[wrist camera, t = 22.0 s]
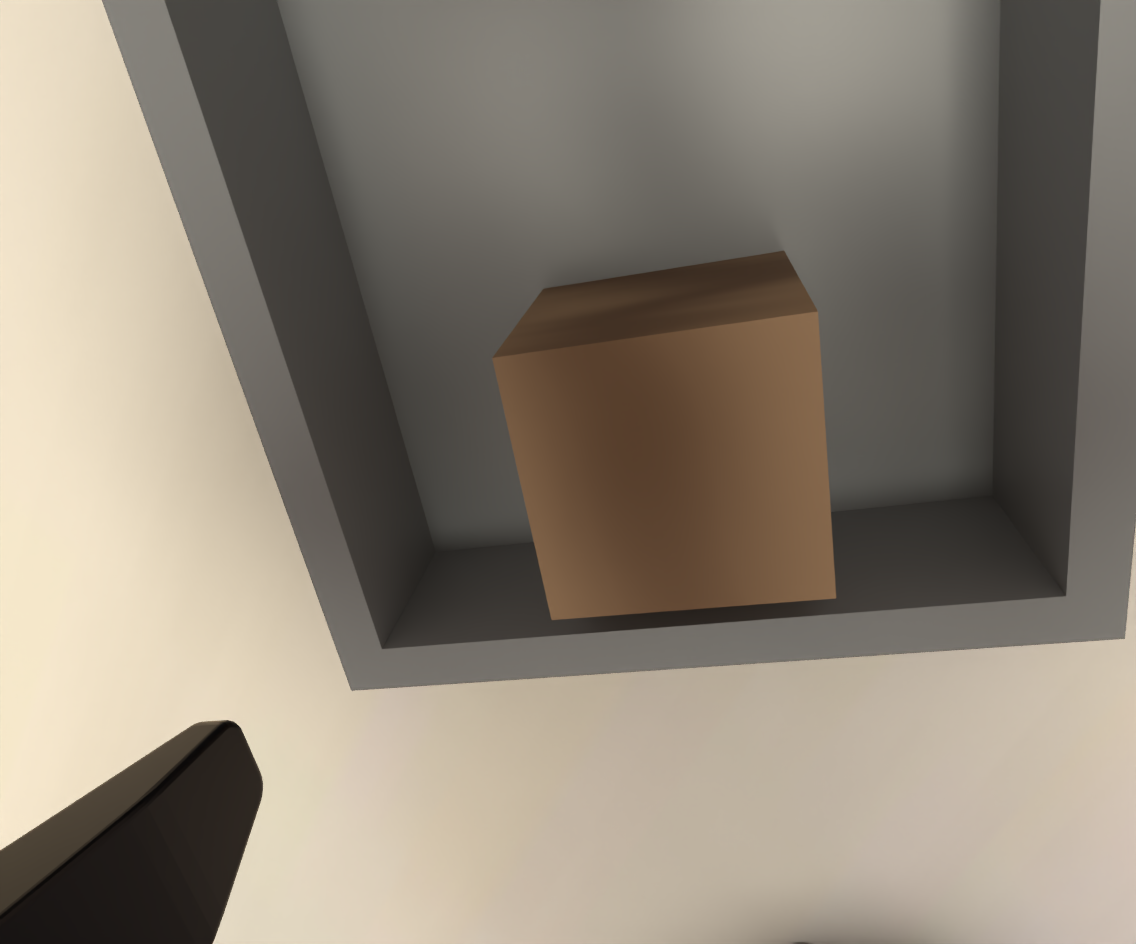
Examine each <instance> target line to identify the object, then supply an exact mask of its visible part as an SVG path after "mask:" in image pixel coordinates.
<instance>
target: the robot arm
mask: <svg viewBox="0 0 1136 944" xmlns="http://www.w3.org/2000/svg"><path fill="white" fill-rule="evenodd" d="M262 792H263V781H262V776H261V773H260V770H259V768H258V766H257V764H256V761H255V759H254V757H253V755H252V752H251V750H250V748H249V745H248V743H247V741H246V739H245V736H244V734H243V732H242V730H241V728H240V727H239V726H238V725H237V724H236V723H235V722H233V721H229V720H223V721H206V722H199V723H196V724H194V725H192V726H191V727H189V728H187V729H186V730H184V731H183V732H181V733H180V734H178V735H177V736H175V737H174V738H172V739H171V740H169V741H168V742H166V743H164V744H163V745H161V746H160V747H158V748H157V749H155V750H154V751H152V752H151V753H149V754H148V755H146V756H145V757H143V758H141V759H140V760H138V761H137V762H135V763H134V764H132V765H131V766H129V767H128V768H126V769H125V770H123V771H122V772H120V773H118V774H117V775H115V776H114V777H112V778H111V779H109V780H108V781H106V782H105V783H103V784H102V785H100V786H99V787H97V788H95V789H94V790H92V791H91V792H89V793H88V794H86V795H85V796H83V797H82V798H80V799H79V800H77V801H75V802H74V803H72V804H71V805H69V806H68V807H66V808H65V809H63V810H62V811H60V812H59V813H57V814H56V815H54V816H52V817H51V818H49V819H48V820H46V821H45V822H43V823H42V824H40V825H39V826H37V827H36V828H34V829H33V830H31V831H29V832H28V833H26V834H25V835H23V836H22V837H20V838H19V839H17V840H16V841H14V842H13V843H11V844H10V845H8V846H6V847H5V848H3V849H2V850H0V944H213V941H214V939H215V936H216V933H217V931H218V928H219V925H220V922H221V919H222V917H223V914H224V911H225V908H226V905H227V902H228V899H229V896H230V893H231V890H232V887H233V884H234V881H235V878H236V875H237V872H238V869H239V866H240V863H241V860H242V857H243V854H244V851H245V848H246V845H247V842H248V838H249V835H250V832H251V829H252V826H253V823H254V820H255V817H256V814H257V811H258V808H259V805H260V802H261V798H262Z"/></svg>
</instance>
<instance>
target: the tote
mask: <svg viewBox="0 0 1136 944" xmlns="http://www.w3.org/2000/svg"><path fill="white" fill-rule="evenodd" d="M102 2H103V5H104V7H105V10H106V13H107V16H108V18H109V21H110V24H111V27H112V29H113V32H114V35H115V38H116V41H117V43H118V46H119V49H120V52H121V54H122V57H123V60H124V63H125V65H126V68H127V71H128V74H129V76H130V79H131V82H132V85H133V88H134V90H135V93H136V96H137V99H138V101H139V104H140V107H141V110H142V112H143V115H144V118H145V121H146V123H147V126H148V129H149V132H150V135H151V137H152V140H153V143H154V146H155V148H156V151H157V154H158V157H159V159H160V162H161V165H162V168H163V171H164V173H165V176H166V179H167V182H168V184H169V187H170V190H171V193H172V195H173V198H174V201H175V204H176V206H177V209H178V212H179V215H180V218H181V220H182V223H183V226H184V229H185V231H186V234H187V237H188V240H189V242H190V245H191V248H192V251H193V254H194V256H195V259H196V262H197V265H198V267H199V270H200V273H201V276H202V278H203V281H204V284H205V287H206V289H207V292H208V295H209V298H210V301H211V303H212V306H213V309H214V312H215V314H216V317H217V320H218V323H219V325H220V328H221V331H222V334H223V337H224V339H225V342H226V345H227V348H228V350H229V353H230V356H231V359H232V361H233V364H234V367H235V370H236V372H237V375H238V378H239V381H240V384H241V386H242V389H243V392H244V395H245V397H246V400H247V403H248V406H249V408H250V411H251V414H252V417H253V419H254V422H255V425H256V428H257V431H258V433H259V436H260V439H261V442H262V444H263V447H264V450H265V453H266V455H267V458H268V461H269V464H270V467H271V469H272V472H273V475H274V478H275V480H276V483H277V486H278V489H279V491H280V494H281V497H282V500H283V502H284V505H285V508H286V511H287V514H288V516H289V519H290V522H291V525H292V527H293V530H294V533H295V536H296V538H297V541H298V544H299V547H300V550H301V552H302V555H303V558H304V561H305V563H306V566H307V569H308V572H309V574H310V577H311V580H312V583H313V585H314V588H315V591H316V594H317V597H318V599H319V602H320V605H321V608H322V610H323V613H324V616H325V619H326V621H327V624H328V627H329V630H330V633H331V635H332V638H333V641H334V644H335V646H336V649H337V652H338V655H339V657H340V660H341V663H342V666H343V668H344V671H345V674H346V677H347V680H348V682H349V685H350V688H351V691H353V690H368V689H383V688H398V687H413V686H428V685H442V684H457V683H472V682H487V681H502V680H517V679H532V678H547V677H562V676H576V675H591V674H606V673H621V672H636V671H651V670H666V669H681V668H696V667H711V666H725V665H740V664H755V663H770V662H785V661H800V660H815V659H830V658H845V657H859V656H874V655H889V654H904V653H919V652H934V651H949V650H964V649H979V648H993V647H1008V646H1023V645H1038V644H1053V643H1068V642H1083V641H1098V640H1113V639H1125V631H1126V620H1127V609H1128V598H1129V587H1130V577H1131V566H1132V555H1133V544H1134V533H1135V523H1136V0H102ZM779 251H785V253H786V255H787V257H788V258H789V260H790V262H791V264H792V266H793V267H794V269H795V271H796V273H797V275H798V276H799V278H800V280H801V282H802V284H803V285H804V287H805V289H806V291H807V293H808V294H809V296H810V298H811V300H812V302H813V303H814V305H815V307H816V309H817V311H818V319H819V335H820V351H821V366H822V382H823V398H824V413H825V429H826V445H827V460H828V476H829V491H830V507H831V523H832V538H833V554H834V570H835V585H836V598H835V599H822V600H809V601H796V602H782V603H769V604H756V605H743V606H730V607H717V608H704V609H691V610H678V611H665V612H652V613H638V614H625V615H612V616H599V617H586V618H573V619H560V620H551V615H550V611H549V607H548V602H547V598H546V593H545V589H544V584H543V580H542V576H541V571H540V567H539V562H538V558H537V554H536V549H535V545H534V540H533V536H532V532H531V527H530V523H529V518H528V514H527V510H526V505H525V501H524V496H523V492H522V487H521V483H520V479H519V474H518V470H517V465H516V461H515V457H514V452H513V448H512V443H511V439H510V435H509V430H508V426H507V421H506V417H505V412H504V408H503V404H502V399H501V395H500V390H499V386H498V382H497V377H496V373H495V368H494V364H493V360H492V357H493V356H494V355H495V353H496V352H497V351H498V349H499V348H500V347H501V345H502V344H503V343H504V341H505V340H506V338H507V337H508V336H509V334H510V333H511V332H512V330H513V329H514V328H515V326H516V325H517V324H518V322H519V321H520V320H521V318H522V317H523V315H524V314H525V313H526V311H527V310H528V309H529V307H530V306H531V305H532V303H533V302H534V301H535V299H536V298H537V297H538V295H539V294H540V292H541V291H542V290H543V289H545V288H551V287H558V286H564V285H570V284H577V283H583V282H589V281H596V280H602V279H608V278H615V277H621V276H627V275H634V274H640V273H646V272H653V271H659V270H665V269H672V268H678V267H684V266H691V265H697V264H703V263H710V262H716V261H722V260H729V259H735V258H741V257H748V256H754V255H760V254H767V253H773V252H779Z"/></svg>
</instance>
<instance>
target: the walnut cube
mask: <svg viewBox="0 0 1136 944" xmlns="http://www.w3.org/2000/svg"><path fill="white" fill-rule="evenodd" d="M492 360H493V364H494V368H495V373H496V377H497V382H498V386H499V390H500V395H501V399H502V404H503V408H504V412H505V417H506V421H507V426H508V430H509V435H510V439H511V443H512V448H513V452H514V457H515V461H516V465H517V470H518V474H519V479H520V483H521V487H522V492H523V496H524V501H525V505H526V510H527V514H528V518H529V523H530V527H531V532H532V536H533V540H534V545H535V549H536V554H537V558H538V562H539V567H540V571H541V576H542V580H543V584H544V589H545V593H546V598H547V602H548V607H549V611H550V615H551V620H560V619H573V618H586V617H599V616H612V615H625V614H638V613H652V612H665V611H678V610H691V609H704V608H717V607H730V606H743V605H756V604H769V603H782V602H796V601H809V600H822V599H835V598H836V585H835V570H834V554H833V538H832V523H831V507H830V491H829V476H828V460H827V445H826V429H825V413H824V398H823V382H822V366H821V351H820V335H819V319H818V311H817V309H816V307H815V305H814V303H813V302H812V300H811V298H810V296H809V294H808V293H807V291H806V289H805V287H804V285H803V284H802V282H801V280H800V278H799V276H798V275H797V273H796V271H795V269H794V267H793V266H792V264H791V262H790V260H789V258H788V257H787V255H786V253H785V251H779V252H773V253H767V254H760V255H754V256H748V257H741V258H735V259H729V260H722V261H716V262H710V263H703V264H697V265H691V266H684V267H678V268H672V269H665V270H659V271H653V272H646V273H640V274H634V275H627V276H621V277H615V278H608V279H602V280H596V281H589V282H583V283H577V284H570V285H564V286H558V287H551V288H545V289H543V290H542V291H541V292H540V294H539V295H538V297H537V298H536V299H535V301H534V302H533V303H532V305H531V306H530V307H529V309H528V310H527V311H526V313H525V314H524V315H523V317H522V318H521V320H520V321H519V322H518V324H517V325H516V326H515V328H514V329H513V330H512V332H511V333H510V334H509V336H508V337H507V338H506V340H505V341H504V343H503V344H502V345H501V347H500V348H499V349H498V351H497V352H496V353H495V355H494V356H493V357H492Z"/></svg>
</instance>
